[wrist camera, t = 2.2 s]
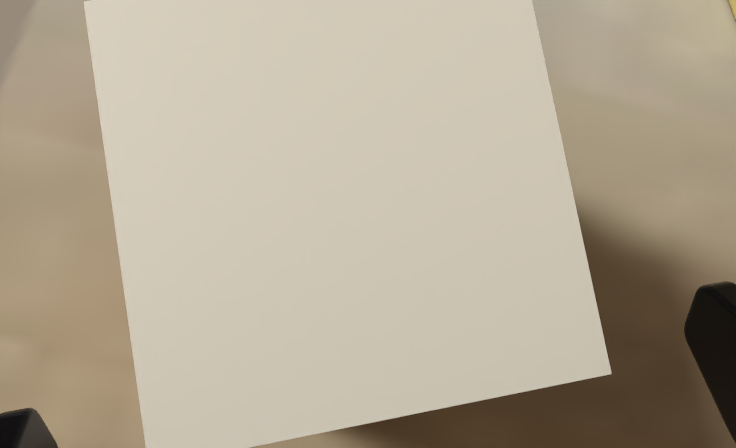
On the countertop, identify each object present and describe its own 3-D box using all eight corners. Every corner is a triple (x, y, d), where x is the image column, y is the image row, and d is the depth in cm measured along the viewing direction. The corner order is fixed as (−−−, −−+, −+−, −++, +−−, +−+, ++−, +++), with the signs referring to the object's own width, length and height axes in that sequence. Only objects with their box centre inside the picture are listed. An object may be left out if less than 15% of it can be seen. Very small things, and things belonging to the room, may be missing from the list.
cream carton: (453, 338, 19) (622, 372, 9) (232, 380, 18) (149, 467, 8) (414, 131, 19) (530, -53, 10) (198, 163, 19) (83, 1, 9)
